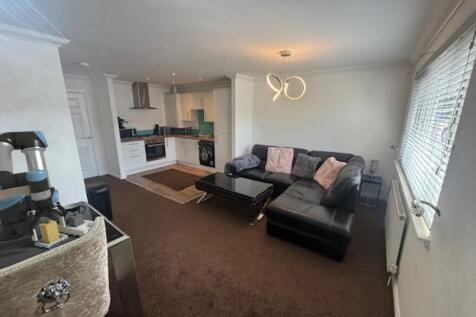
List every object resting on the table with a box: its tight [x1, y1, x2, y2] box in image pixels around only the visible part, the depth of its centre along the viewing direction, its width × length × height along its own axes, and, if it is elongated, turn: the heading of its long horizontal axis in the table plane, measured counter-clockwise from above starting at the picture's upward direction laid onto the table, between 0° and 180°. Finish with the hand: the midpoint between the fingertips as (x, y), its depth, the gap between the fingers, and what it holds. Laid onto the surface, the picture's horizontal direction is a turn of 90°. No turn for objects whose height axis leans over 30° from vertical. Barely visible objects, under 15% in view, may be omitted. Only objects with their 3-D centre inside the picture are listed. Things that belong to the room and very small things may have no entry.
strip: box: [57, 211, 95, 237], centre depth 122 cm, size 24×10×12 cm, turn 75°
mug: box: [62, 202, 87, 214], centre depth 135 cm, size 12×9×10 cm
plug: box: [38, 218, 60, 244], centre depth 110 cm, size 5×5×14 cm
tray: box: [34, 232, 69, 249], centre depth 111 cm, size 10×10×2 cm
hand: (50, 233), depth 110 cm, fingers open, 13 cm apart
